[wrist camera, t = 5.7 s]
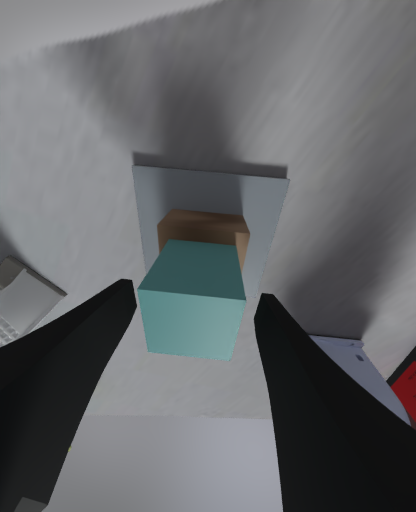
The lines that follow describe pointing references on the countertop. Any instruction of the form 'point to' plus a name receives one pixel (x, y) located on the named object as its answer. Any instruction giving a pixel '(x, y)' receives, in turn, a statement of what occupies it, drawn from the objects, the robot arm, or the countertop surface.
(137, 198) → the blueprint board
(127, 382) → the countertop surface
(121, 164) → the countertop surface
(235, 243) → the walnut block
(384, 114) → the countertop surface
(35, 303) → the skyscraper
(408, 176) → the countertop surface
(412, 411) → the cleaning product box
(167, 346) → the teal cube
